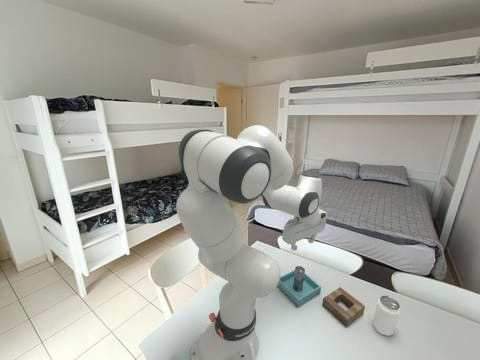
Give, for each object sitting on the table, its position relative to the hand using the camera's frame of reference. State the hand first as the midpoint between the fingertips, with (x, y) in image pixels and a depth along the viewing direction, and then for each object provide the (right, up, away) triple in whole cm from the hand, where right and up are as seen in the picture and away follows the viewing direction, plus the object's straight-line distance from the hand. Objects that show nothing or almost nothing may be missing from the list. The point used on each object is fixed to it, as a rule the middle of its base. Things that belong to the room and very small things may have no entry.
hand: (302, 245), depth 86 cm
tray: (0, -22, +8) cm, 23 cm away
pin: (0, -21, +7) cm, 22 cm away
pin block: (+15, -25, -2) cm, 29 cm away
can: (+27, -27, -8) cm, 39 cm away
